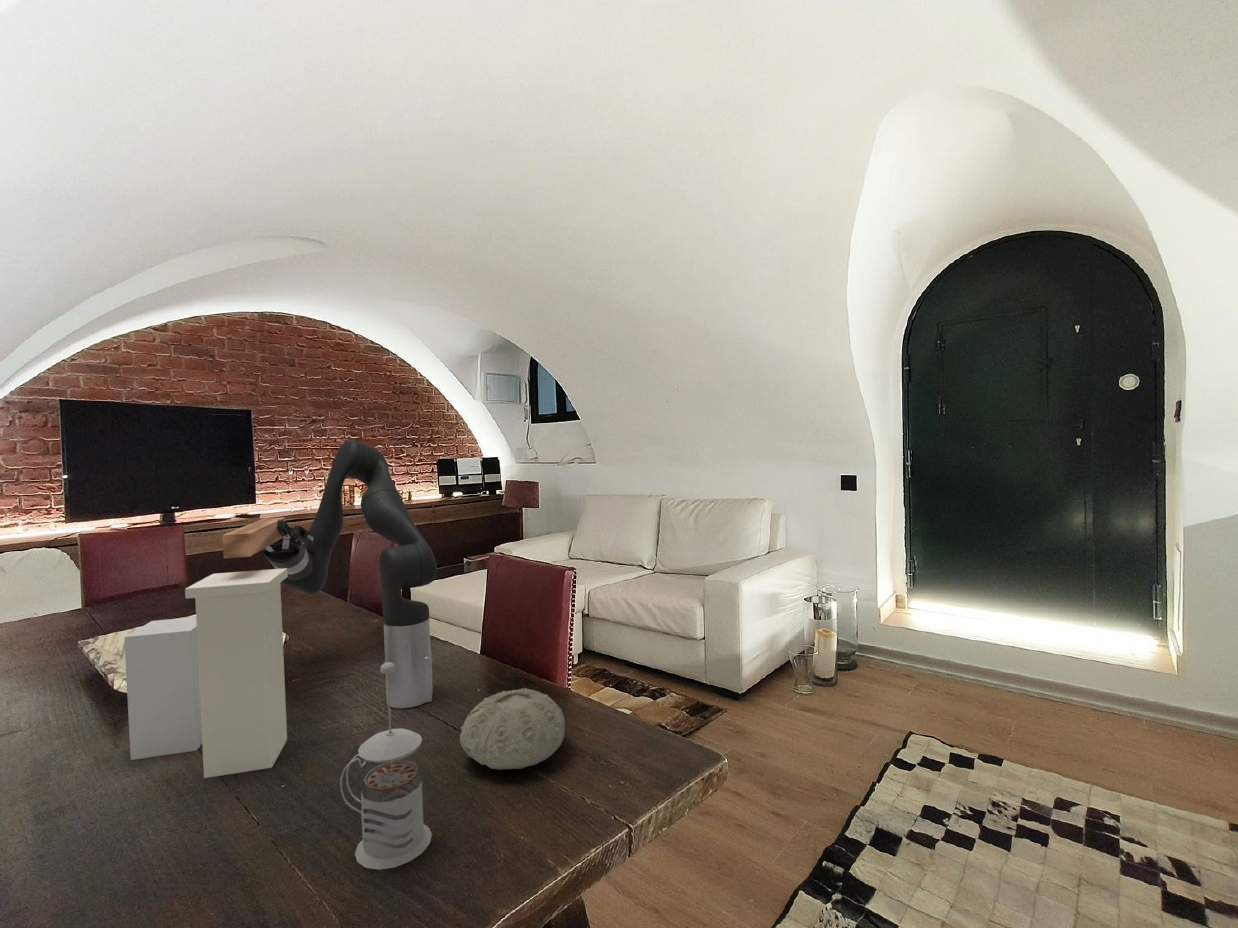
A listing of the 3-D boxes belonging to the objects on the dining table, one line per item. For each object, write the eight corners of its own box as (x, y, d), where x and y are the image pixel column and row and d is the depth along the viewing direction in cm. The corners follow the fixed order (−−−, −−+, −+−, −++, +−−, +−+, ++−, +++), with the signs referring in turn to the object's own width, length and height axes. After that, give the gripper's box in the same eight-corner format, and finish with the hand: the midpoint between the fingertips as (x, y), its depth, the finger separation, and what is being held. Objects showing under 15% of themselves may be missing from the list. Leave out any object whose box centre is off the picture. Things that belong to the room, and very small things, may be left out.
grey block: (217, 725, 117) (211, 615, 116) (196, 750, 107) (190, 630, 106) (157, 733, 114) (151, 620, 113) (130, 759, 104) (124, 636, 104)
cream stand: (294, 736, 111) (287, 568, 110) (276, 769, 100) (268, 582, 99) (221, 746, 108) (213, 573, 107) (194, 782, 97) (185, 588, 96)
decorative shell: (481, 797, 91) (479, 733, 90) (448, 748, 106) (446, 693, 106) (583, 761, 100) (581, 703, 100) (539, 721, 115) (538, 670, 115)
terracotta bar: (285, 536, 126) (285, 517, 125) (250, 556, 103) (249, 533, 102) (264, 537, 124) (263, 518, 124) (223, 558, 101) (222, 535, 101)
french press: (416, 869, 75) (409, 676, 75) (327, 869, 76) (319, 677, 75) (441, 820, 85) (435, 649, 84) (362, 820, 86) (355, 650, 85)
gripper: (253, 540, 133) (228, 509, 119) (323, 535, 137) (306, 505, 123) (249, 571, 130) (223, 544, 115) (320, 566, 134) (304, 539, 119)
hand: (266, 524), depth 119 cm, fingers closed on terracotta bar, 4 cm apart
